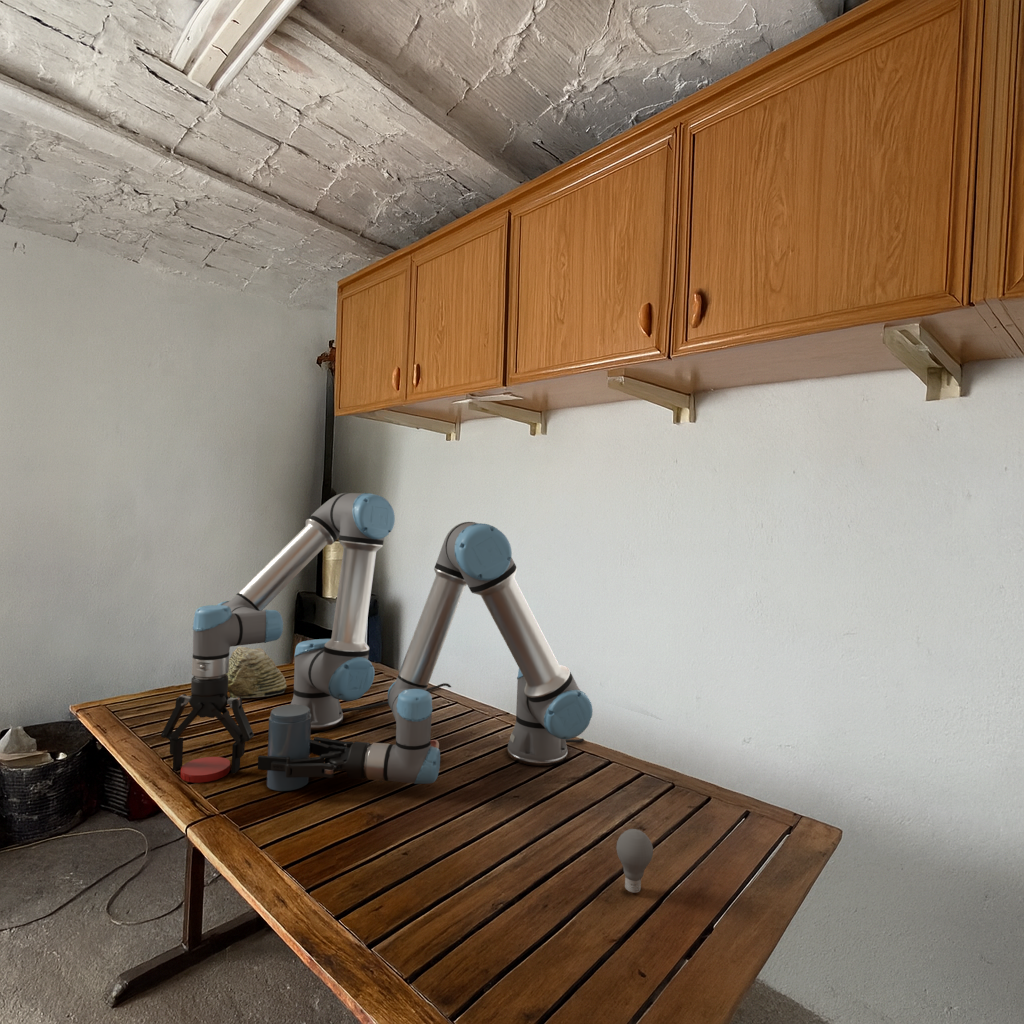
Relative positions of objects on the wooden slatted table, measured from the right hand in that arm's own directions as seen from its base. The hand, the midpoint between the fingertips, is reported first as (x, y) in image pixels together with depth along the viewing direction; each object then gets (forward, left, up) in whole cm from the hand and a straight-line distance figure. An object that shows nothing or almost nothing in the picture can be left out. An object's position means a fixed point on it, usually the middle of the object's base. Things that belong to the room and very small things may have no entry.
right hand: (268, 753), depth 140 cm
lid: (+13, -8, -5) cm, 16 cm away
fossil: (+4, -63, -6) cm, 64 cm away
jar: (-4, +2, -6) cm, 8 cm away
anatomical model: (-32, -2, -6) cm, 33 cm away
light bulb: (-57, +59, -6) cm, 82 cm away
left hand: (+13, -8, -5) cm, 16 cm away
